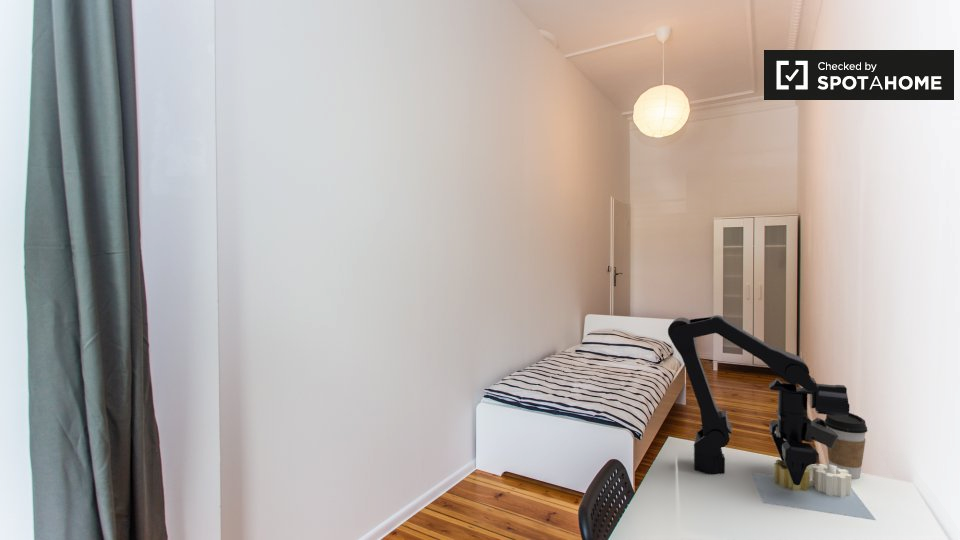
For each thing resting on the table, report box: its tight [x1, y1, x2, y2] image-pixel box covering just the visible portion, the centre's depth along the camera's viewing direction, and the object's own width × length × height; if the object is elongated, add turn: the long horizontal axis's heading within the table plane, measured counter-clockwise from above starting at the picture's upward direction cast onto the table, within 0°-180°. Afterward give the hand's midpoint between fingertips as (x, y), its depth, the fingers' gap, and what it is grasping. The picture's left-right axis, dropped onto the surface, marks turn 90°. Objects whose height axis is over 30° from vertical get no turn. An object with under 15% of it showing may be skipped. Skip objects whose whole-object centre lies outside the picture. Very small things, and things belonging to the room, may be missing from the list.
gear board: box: [751, 463, 876, 521], centre depth 108 cm, size 20×15×6 cm
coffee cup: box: [824, 412, 868, 480], centre depth 117 cm, size 8×8×15 cm
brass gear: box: [773, 459, 811, 491], centre depth 112 cm, size 7×7×4 cm
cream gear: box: [812, 463, 852, 498], centre depth 109 cm, size 7×7×4 cm
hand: (791, 475), depth 112 cm, fingers open, 9 cm apart
